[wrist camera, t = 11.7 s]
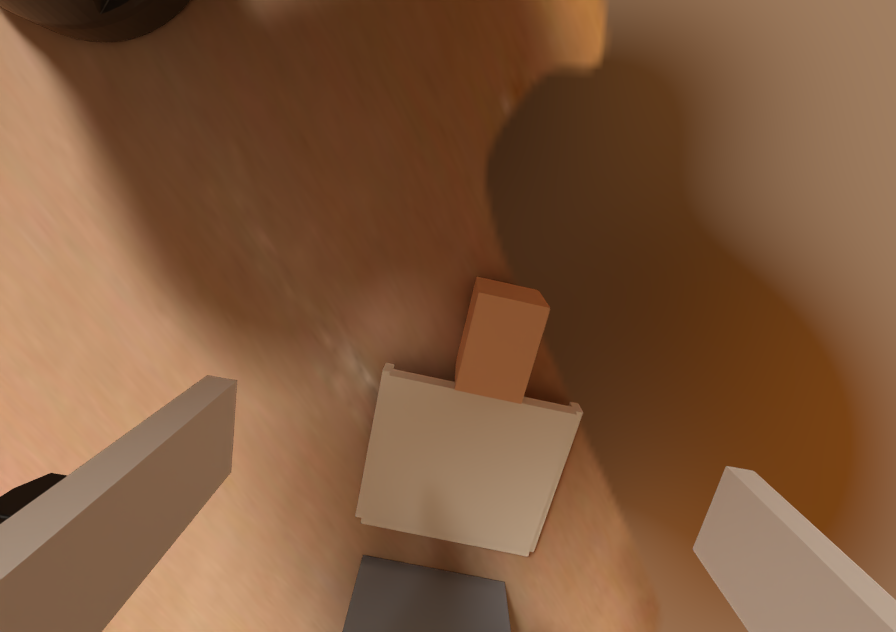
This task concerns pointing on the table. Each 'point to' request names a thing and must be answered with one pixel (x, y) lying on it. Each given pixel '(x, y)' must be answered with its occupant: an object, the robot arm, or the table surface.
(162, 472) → the robot arm
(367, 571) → the tub
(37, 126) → the table surface
